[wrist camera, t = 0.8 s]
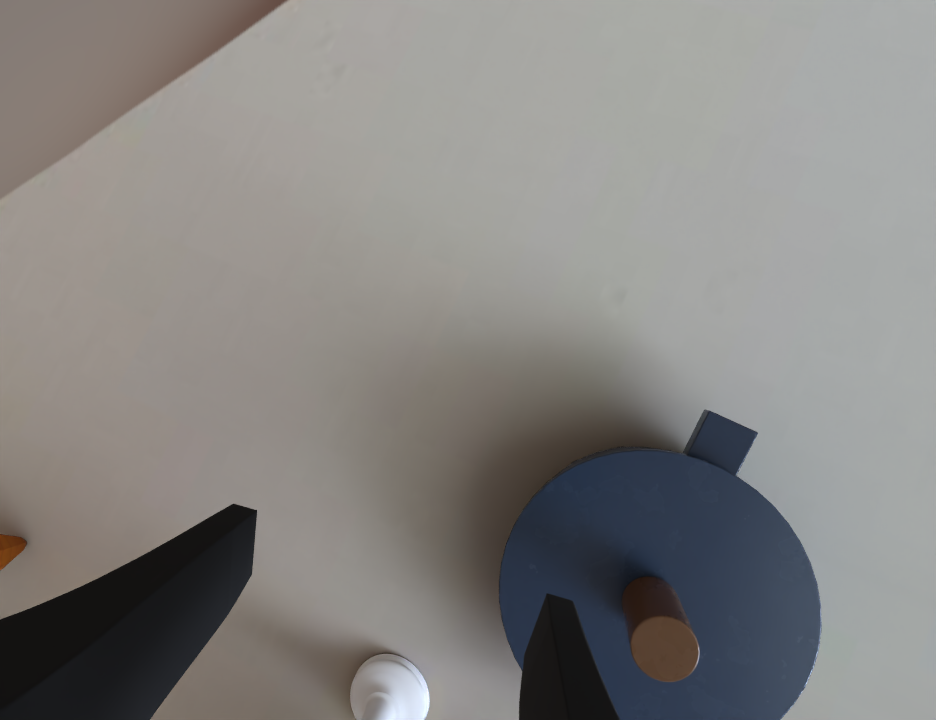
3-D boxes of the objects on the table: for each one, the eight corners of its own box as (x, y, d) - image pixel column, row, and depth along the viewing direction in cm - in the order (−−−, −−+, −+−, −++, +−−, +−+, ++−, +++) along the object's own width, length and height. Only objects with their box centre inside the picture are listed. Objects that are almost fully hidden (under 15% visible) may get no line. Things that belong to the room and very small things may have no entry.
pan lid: (869, 536, 23) (949, 582, 18) (724, 804, 24) (762, 916, 19) (574, 397, 26) (574, 404, 21) (457, 642, 27) (430, 704, 22)
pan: (842, 472, 26) (888, 491, 23) (679, 780, 28) (696, 847, 24) (599, 363, 29) (603, 362, 25) (462, 649, 30) (445, 690, 27)
